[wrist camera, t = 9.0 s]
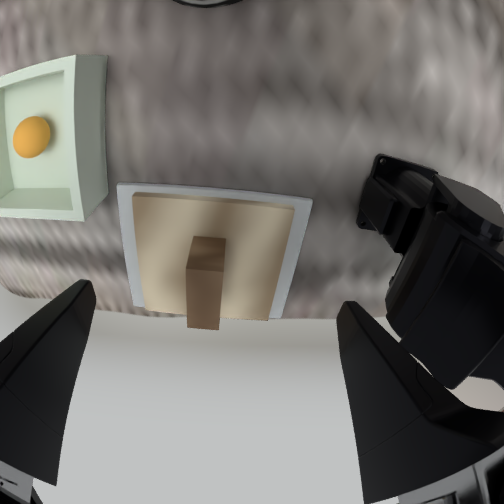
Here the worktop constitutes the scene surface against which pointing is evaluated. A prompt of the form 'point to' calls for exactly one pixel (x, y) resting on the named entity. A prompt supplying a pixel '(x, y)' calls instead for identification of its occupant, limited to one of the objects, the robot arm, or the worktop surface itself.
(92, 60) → the dish
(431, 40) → the worktop surface
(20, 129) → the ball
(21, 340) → the robot arm
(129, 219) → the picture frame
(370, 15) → the worktop surface
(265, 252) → the cover
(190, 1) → the white-spotted black cylinder
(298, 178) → the worktop surface
